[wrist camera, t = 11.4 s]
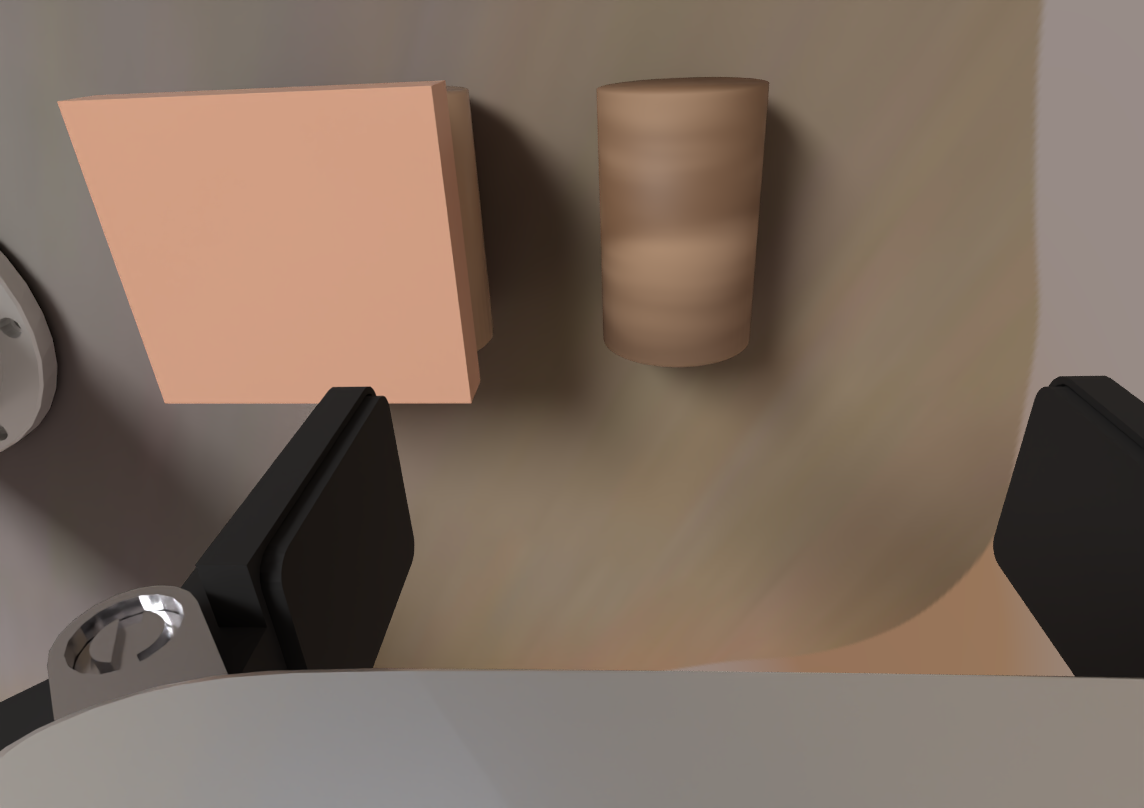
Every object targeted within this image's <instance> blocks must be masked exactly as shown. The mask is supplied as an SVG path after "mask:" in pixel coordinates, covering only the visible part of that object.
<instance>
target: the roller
mask: <svg viewBox="0 0 1144 808" xmlns="http://www.w3.org/2000/svg"><path fill="white" fill-rule="evenodd" d="M768 92H769V82H768V81H765V80H760V79H752V78H735V77H693V78H670V79H651V80H639V81H630V82H622V83H615V84H609V85H605V86H601V87H598V88H597V119H598V155H599V191H600V227H601V263H602V299H603V336H604V342H605V344H606V346H607V347H608V348H609V349H610V350H611V351H612V352H614V353H615V354H617V355H619V356H621V357H623V358H626V359H628V360H631V361H634V362H638V363H643V364H647V365H654V366H663V367H692V366H701V365H708V364H713V363H717V362H720V361H724V360H727V359H729V358H732V357H734V356H736V355H737V354H739V353H740V352H742V351H743V350H744V349H745V348H746V347H747V345H748V343H749V338H750V325H751V312H752V299H753V286H754V273H755V260H756V247H757V234H758V221H759V208H760V195H761V182H762V169H763V156H764V143H765V130H766V118H767V105H768Z"/></svg>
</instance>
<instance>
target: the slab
mask: <svg viewBox="0 0 1144 808" xmlns="http://www.w3.org/2000/svg"><path fill="white" fill-rule="evenodd" d="M57 102H58V105H59V108H60V111H61V113H62V116H63V119H64V122H65V125H66V127H67V130H68V133H69V136H70V139H71V141H72V144H73V147H74V150H75V153H76V155H77V158H78V161H79V164H80V167H81V169H82V172H83V175H84V178H85V181H86V183H87V186H88V189H89V192H90V195H91V197H92V200H93V203H94V206H95V209H96V211H97V214H98V217H99V220H100V223H101V225H102V228H103V231H104V234H105V237H106V239H107V242H108V245H109V248H110V251H111V253H112V256H113V259H114V262H115V265H116V267H117V270H118V273H119V276H120V279H121V281H122V284H123V287H124V290H125V293H126V295H127V298H128V301H129V304H130V307H131V309H132V312H133V315H134V318H135V321H136V323H137V326H138V329H139V332H140V335H141V337H142V340H143V343H144V346H145V349H146V351H147V354H148V357H149V360H150V363H151V365H152V368H153V371H154V374H155V377H156V379H157V382H158V385H159V388H160V391H161V393H162V396H163V399H164V402H165V403H319V402H320V401H321V400H322V398H323V397H324V396H325V394H326V393H327V392H328V390H329V389H331V388H332V387H366V386H371V387H372V388H373V389H374V391H375V393H376V396H385V397H386V399H387V401H388V403H472V400H473V398H474V396H475V393H476V391H477V389H478V386H479V384H480V382H481V381H480V372H479V363H478V355H477V351H478V350H480V349H481V348H483V347H484V346H485V345H486V344H487V343H488V342H489V341H490V340H491V338H492V337H493V333H494V331H493V321H492V311H491V301H490V292H489V282H488V272H487V263H486V253H485V244H484V234H483V224H482V215H481V205H480V196H479V186H478V176H477V167H476V157H475V148H474V138H473V128H472V119H471V109H470V100H469V90H468V89H467V88H464V87H455V86H446V83H445V80H444V81H420V82H397V83H373V84H350V85H326V86H303V87H279V88H256V89H232V90H209V91H185V92H162V93H138V94H115V95H94V96H88V97H82V98H75V99H69V100H63V101H57Z"/></svg>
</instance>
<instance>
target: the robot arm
mask: <svg viewBox="0 0 1144 808" xmlns="http://www.w3.org/2000/svg"><path fill="white" fill-rule="evenodd" d="M56 383H57V361H56V355H55V349H54V344H53V339H52V336H51V334H50V331H49V328H48V325H47V323H46V320H45V317H44V315H43V312H42V310H41V309H40V307H39V305H38V303H37V301H36V300H35V298H34V296H33V294H32V293H31V291H30V289H29V287H28V286H27V284H26V282H25V281H24V280H23V279H22V277H21V276H20V275H19V273H18V272H17V271H16V269H15V268H14V267H13V265H12V264H11V263H10V262H9V260H8V259H7V258H6V256H5V255H4V254H3V253H2V252H1V251H0V452H1V451H3V450H5V449H6V448H8V447H10V446H11V445H13V444H15V443H16V442H18V441H19V440H21V439H22V438H24V437H25V436H26V435H27V434H29V433H30V432H31V431H32V430H34V429H35V428H36V427H37V426H38V425H39V424H40V423H41V421H42V420H43V418H44V417H45V415H46V414H47V412H48V411H49V409H50V407H51V404H52V401H53V397H54V394H55V391H56ZM993 549H994V555H995V558H996V561H997V563H998V564H999V566H1000V567H1001V569H1002V571H1003V572H1004V574H1005V575H1006V577H1007V578H1008V579H1009V581H1010V582H1011V584H1012V585H1013V587H1014V588H1015V590H1016V591H1017V593H1018V594H1019V595H1020V597H1021V598H1022V600H1023V601H1024V603H1025V604H1026V606H1027V607H1028V608H1029V610H1030V611H1031V613H1032V614H1033V616H1034V617H1035V619H1036V620H1037V622H1038V623H1039V625H1040V626H1041V627H1042V629H1043V630H1044V632H1045V633H1046V635H1047V636H1048V638H1049V639H1050V641H1051V642H1052V643H1053V645H1054V646H1055V648H1056V649H1057V651H1058V652H1059V654H1060V655H1061V657H1062V658H1063V659H1064V661H1065V662H1066V664H1067V665H1068V667H1069V668H1070V669H1071V671H1072V673H1073V674H1074V675H1075V677H1070V676H1008V675H1006V676H1004V675H936V674H934V675H933V674H932V675H931V674H868V673H867V674H866V673H787V672H707V671H705V672H704V671H634V670H537V669H415V668H373V666H374V663H375V660H376V658H377V655H378V652H379V650H380V647H381V644H382V642H383V639H384V636H385V634H386V631H387V628H388V625H389V623H390V620H391V617H392V615H393V612H394V609H395V607H396V604H397V601H398V599H399V596H400V593H401V591H402V588H403V585H404V583H405V580H406V577H407V575H408V572H409V569H410V567H411V564H412V561H413V556H414V536H413V531H412V525H411V520H410V515H409V509H408V504H407V499H406V493H405V488H404V483H403V477H402V472H401V467H400V461H399V456H398V451H397V445H396V440H395V435H394V429H393V424H392V419H391V413H390V408H389V404H388V401H387V399H386V397H385V396H376V393H375V391H374V389H373V388H372V387H371V386H366V387H332V388H331V389H329V390H328V392H327V393H326V394H325V396H324V397H323V398H322V400H321V401H320V402H319V404H318V405H317V406H316V407H315V409H314V410H313V411H312V413H311V414H310V415H309V417H308V418H307V419H306V421H305V422H304V423H303V425H302V426H301V427H300V428H299V430H298V431H297V432H296V434H295V435H294V436H293V438H292V439H291V440H290V442H289V443H288V444H287V445H286V447H285V448H284V449H283V451H282V452H281V453H280V455H279V456H278V457H277V459H276V460H275V461H274V463H273V464H272V465H271V466H270V468H269V469H268V470H267V472H266V473H265V474H264V476H263V477H262V478H261V480H260V481H259V482H258V483H257V485H256V486H255V487H254V489H253V490H252V491H251V493H250V494H249V495H248V497H247V498H246V499H245V501H244V502H243V503H242V504H241V506H240V507H239V508H238V510H237V511H236V512H235V514H234V515H233V516H232V518H231V519H230V520H229V521H228V523H227V524H226V525H225V527H224V528H223V529H222V531H221V532H220V533H219V535H218V536H217V537H216V539H215V540H214V541H213V542H212V544H211V545H210V546H209V548H208V549H207V550H206V552H205V553H204V554H203V556H202V557H201V558H200V560H199V561H198V562H197V563H196V565H195V566H196V568H195V570H194V571H193V572H192V574H191V575H190V576H189V578H188V579H187V580H186V582H185V583H184V584H183V586H182V587H181V588H179V587H177V586H165V585H155V586H149V587H142V588H136V589H133V590H130V591H127V592H124V593H121V594H118V595H115V596H113V597H111V598H109V599H107V600H105V601H103V602H101V603H99V604H97V605H95V606H93V607H92V608H90V609H89V610H87V611H86V612H84V613H83V614H81V615H80V616H79V617H77V618H76V619H74V620H73V621H72V622H71V623H70V624H69V625H68V626H67V627H66V628H65V629H64V630H63V631H62V632H61V633H60V634H59V635H58V637H57V639H56V640H55V642H54V644H53V645H52V647H51V649H50V650H49V656H48V663H47V669H48V677H49V679H47V680H45V681H43V682H41V683H39V684H37V685H35V686H33V687H31V688H29V689H27V690H25V691H23V692H21V693H19V694H17V695H14V696H12V697H10V698H8V699H6V700H4V701H2V702H0V808H1144V403H1143V402H1142V401H1141V400H1139V399H1138V398H1137V397H1135V396H1134V395H1132V394H1131V393H1130V392H1128V391H1127V390H1126V389H1124V388H1123V387H1122V386H1120V385H1119V384H1118V383H1116V382H1115V381H1114V380H1112V379H1111V378H1108V377H1107V376H1062V377H1061V376H1060V377H1058V378H1056V379H1054V380H1053V381H1052V382H1051V384H1050V385H1049V387H1043V388H1041V389H1040V390H1039V392H1038V393H1037V395H1036V398H1035V400H1034V403H1033V407H1032V411H1031V414H1030V417H1029V420H1028V424H1027V427H1026V431H1025V434H1024V437H1023V441H1022V444H1021V448H1020V451H1019V454H1018V458H1017V461H1016V465H1015V468H1014V471H1013V475H1012V478H1011V482H1010V485H1009V488H1008V492H1007V495H1006V499H1005V502H1004V505H1003V509H1002V512H1001V516H1000V519H999V522H998V526H997V529H996V533H995V536H994V541H993Z"/></svg>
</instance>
